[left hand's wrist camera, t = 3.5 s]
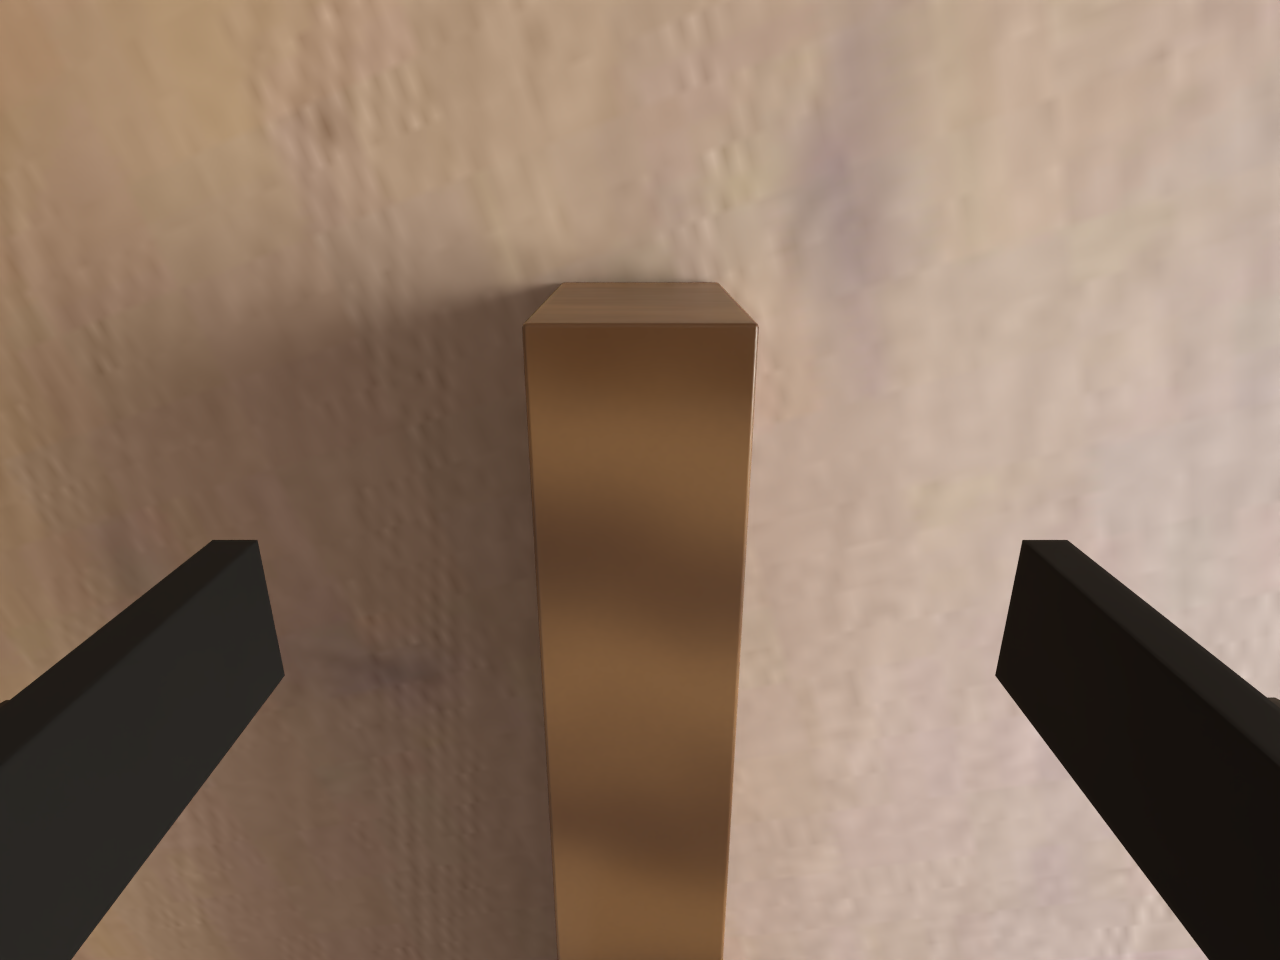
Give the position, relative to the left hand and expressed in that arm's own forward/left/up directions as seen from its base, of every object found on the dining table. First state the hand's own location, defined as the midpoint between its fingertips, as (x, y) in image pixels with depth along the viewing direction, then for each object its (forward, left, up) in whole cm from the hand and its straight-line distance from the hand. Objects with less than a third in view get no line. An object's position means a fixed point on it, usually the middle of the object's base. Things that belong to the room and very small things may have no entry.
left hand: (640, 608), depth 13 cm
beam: (+21, +5, -13) cm, 25 cm away
